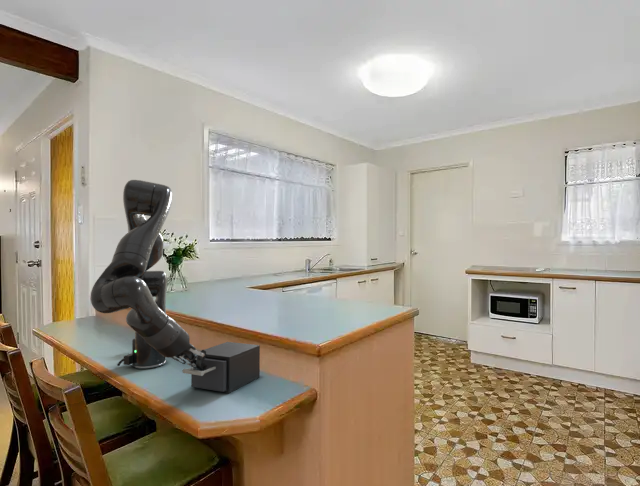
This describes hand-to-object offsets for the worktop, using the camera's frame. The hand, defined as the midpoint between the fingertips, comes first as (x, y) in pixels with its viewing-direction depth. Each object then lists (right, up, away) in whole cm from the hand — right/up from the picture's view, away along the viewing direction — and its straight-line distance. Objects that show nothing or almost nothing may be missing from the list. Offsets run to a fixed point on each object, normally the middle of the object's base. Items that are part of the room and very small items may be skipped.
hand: (202, 369), depth 103 cm
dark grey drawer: (+2, -6, +5) cm, 8 cm away
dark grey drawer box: (+3, -7, +10) cm, 12 cm away
